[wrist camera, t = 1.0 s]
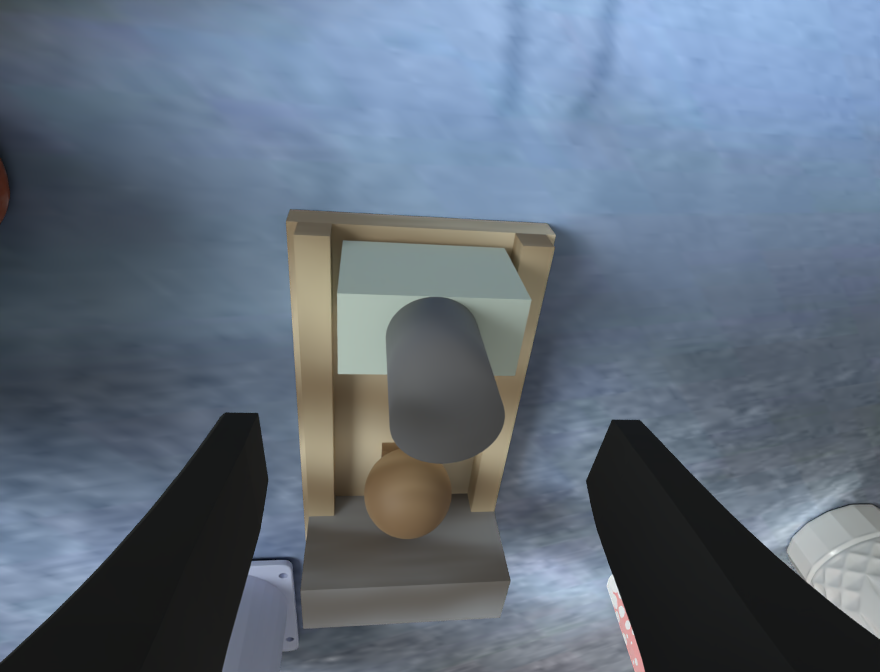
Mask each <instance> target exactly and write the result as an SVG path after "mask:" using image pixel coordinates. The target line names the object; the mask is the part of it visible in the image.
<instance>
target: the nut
mask: <svg viewBox="0 0 880 672" xmlns="http://www.w3.org/2000/svg"><path fill="white" fill-rule="evenodd" d="M451 495H452V490H451V483H450V479H449V476H448V474H447V471H446V470H445V468H444V466H443V465H442V464H435V463H428V462H423V461H420V460H417V459H414V458H412V457H410V456H409V455H407V454H406V453H404V452H403V451H402V450H401V449H400V448H399V447H398V446H397V445H396V444H395V442H385V443H382V452H381V459H379V460H378V461H377V462H376V463H375V465H374V466H373V468H372V469H371V471H370V472H369V475H368V477H367V480H366V483H365V489H364V499H365V505H366V509H367V512H368V514H369V516H370V518H371V519H372V521H373V522H374V524H375V525H376V526H377V527H378V528H379V529H380V530H382V531H383V532H385V533H386V534H388V535H390V536H393V537H396V538H400V539H414V538H419V537H422V536H424V535H426V534H428V533H430V532H431V531H433V530H434V529H435V528H436V527H437V526H439V524H440V523H441V522H442V521H443V519H444V518H445V516H446V514H447V512H448V510H449V507H450V503H451Z"/></svg>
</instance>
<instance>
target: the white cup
mask: <svg viewBox="0 0 880 672" xmlns="http://www.w3.org/2000/svg"><path fill="white" fill-rule="evenodd" d="M787 554H788V556H789V559H790V561H791V563H792V565H793V566H794V568H795V569H796V571H797V572H798V574H799V575H800V576H801V578H802V579H804V580H805V581H806V582H807V583H808V584H810V585H811V586H812V587H813V588H814V589H816V590H817V591H818V592H819V593H821V594H822V595H823V596H824V597H825V598H827V599H828V600H829V601H830V602H832V603H833V604H834V605H835V606H837V607H838V608H839V609H840V610H842V611H843V612H844V613H846V614H847V615H848V616H849V617H851V618H852V619H853V620H855V621H856V622H857V623H859V624H860V625H861V626H863V627H864V628H865V629H867V630H868V631H869V632H871V633H872V634H873V635H875V636H876V637H877V638H879V639H880V508H878V507H876V506H874V505H872V504H856V505H848V506H845V507H841V508H837V509H834V510H831V511H828V512H826V513H824V514H823V515H821V516H818V517H817V518H815V519H814V520H812V521H810V522H808V523H807V524H806V525H805V526H804V527H803V528H801V529H800V530H799V531H798V532H797V533H796V534H795V535H794V536H793V537H792V539H791V541H790V544H789V546H788V548H787Z"/></svg>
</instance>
